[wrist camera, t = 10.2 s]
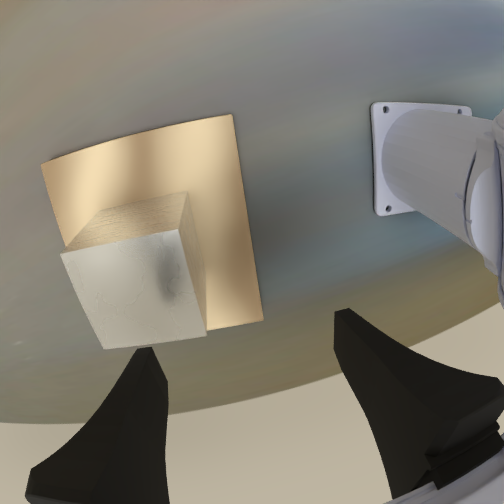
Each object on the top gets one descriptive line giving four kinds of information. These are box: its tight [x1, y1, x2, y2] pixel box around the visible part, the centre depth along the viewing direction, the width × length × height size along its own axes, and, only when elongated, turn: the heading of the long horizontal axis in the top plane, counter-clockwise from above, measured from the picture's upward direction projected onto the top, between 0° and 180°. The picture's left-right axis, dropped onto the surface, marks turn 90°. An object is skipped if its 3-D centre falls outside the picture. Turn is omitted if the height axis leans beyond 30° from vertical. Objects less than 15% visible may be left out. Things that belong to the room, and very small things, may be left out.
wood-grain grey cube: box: [60, 191, 207, 349], centre depth 16 cm, size 6×6×6 cm
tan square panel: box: [41, 114, 264, 330], centre depth 18 cm, size 12×14×6 cm
